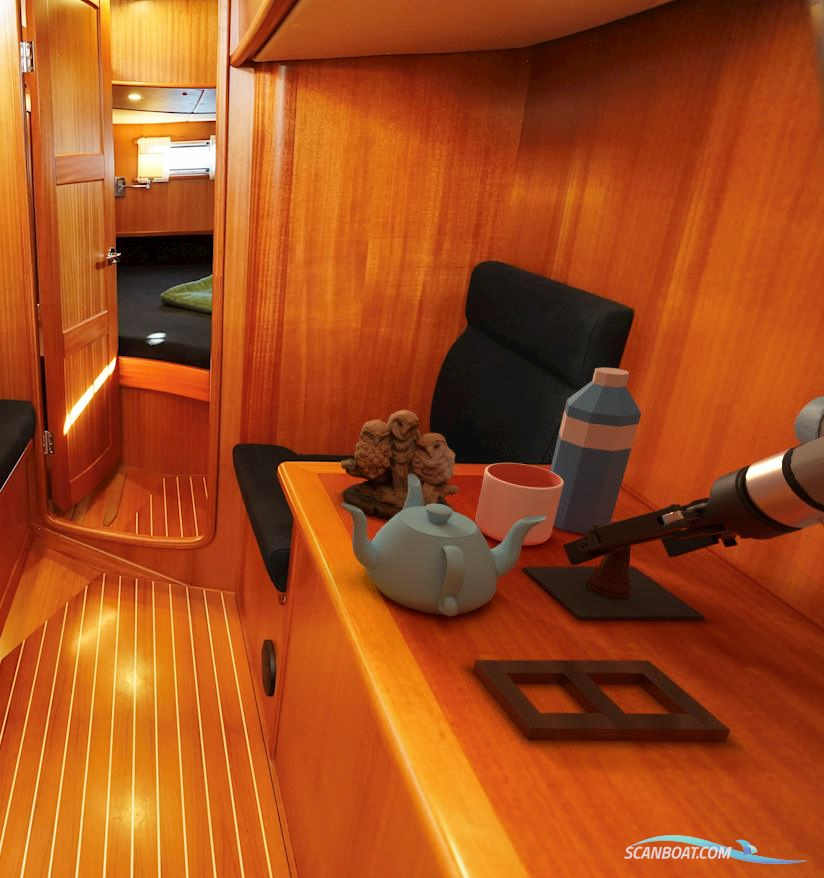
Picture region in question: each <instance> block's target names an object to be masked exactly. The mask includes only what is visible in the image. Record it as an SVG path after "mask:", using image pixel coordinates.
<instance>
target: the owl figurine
mask: <svg viewBox="0 0 824 878" xmlns="http://www.w3.org/2000/svg"><path fill="white" fill-rule="evenodd" d="M419 427H420V419H419V417H418V416H417V414H416V413H415V412H413V411H410V410H407V409H400V410H397V411H396V412H393V413H392V414H390V415H389V417H388V420H387V423H386V422H384V421H382V420H381V419H373V420H370V421H366V422H365V423H364V424H363V425H362V428H361V431H360V434H359V439H358V442H357V443H356V444H355V445H354V447H355V452H354V455H353V456H354V459H353V458H348V459H345V460H340V467H341V468H342V469H343V470H344V472H345V473H346V474H347V475H348V476H350V477H353V478H358V479H364V481H363V482H358V483H355V484H352V485H351V486H348V487H346V488H345V489H344V490H343V492H342V499H343V502H344V503H345V504H349V505H352V506H355V507H357V508H359V509H360V510H362V511H363V513H364V514H368V515H369V516H373V515H374V514H375V513H376V516H377V517H378V518H380V519H385V520H388V521H389V520H390V519H391V518H393V517H394V516H395V515H396V514H397V513H399V512H400V511H402V509H403V507H404V504H405V502H406V499H407V495H408V487H409V486H408V475H409V474H414V475H416V476H417V477H418V479H419V480H420V483H421V488H422V495H423V503H424V506H426V505H428V504H442V505H445V506H448V507H450V508H452V506H451V504H450V503H448V501H447V500H446V497H447V496H453V495H454V494H458V492H459V486H456V485H454V484H451V483H449V481H450V480H451V479H452V477H453V476H454V474H455V466H456V462H455V459H456V456H457V455H456V453H455V452H454V451H453V450H452V449H451V448H449V446H448V443H447V441H446V438H445V436H444V435H443V434H441V433H438V432H437V433H436V432H427V433H423V434H422V433H421V432H420V430H419V429H418V428H419ZM421 434H422V435H421ZM375 509H376V511H377V512H376V511H375ZM452 509H453V508H452Z"/></svg>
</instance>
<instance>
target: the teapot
mask: <svg viewBox="0 0 824 878" xmlns="http://www.w3.org/2000/svg"><path fill="white" fill-rule="evenodd" d="M408 486H409V487H408V495H407V499H406V502H405V504H404V507H403V509H402V511H400V512H399V513H397V514H396V515H395V516H394V517H393V518H391V519H390V520H389V519H388V521H387V522H386V523H385V524H384V525H383V526H382V527H381V528H380V529H379V530H378V531H377V533H376V534H375V535H374V536H373V538H372V540H370V539H369V537H368V519H367V516H366V515H365V514H366V513H363V511H362V510H360V509H359V508H357V507H355V506H352V505H349V504H346V503H345V502H341V503H340V505H341V506H342V508H344V509H345V510H346V511H347V512H348V513H349V514H350V516H351V519H352V525H353V526H352V536H351V547H352V551H353V555H354V557H355V559H356V560H357V561H358V563H359V564H360V565H361V566H363V567H364V568H365V571H366V574H367V576H368V577H369V579H370V580H371V582H372V583H373V585H374V586H375V587H376V589H378V590H379V591H380V593H382V594H383V595H384V596H385V597H387V598H388V599H390V600H391V601H393V602H395V603H397V604H399V605H401V606H404V607H406V608H409V609H412V610H415V611H418V612H423V613H428V614H432V615H440V616H441V615H442V616H443V615H444V616H446V617H454V616H457V615H461V614H466V613H469V612H471V611H474V610H477V609H478V608H481V607H483V606H484V605H486V604H488V602H490V601H491V600H492V598H493V597H495V594H496V592H497V586H498V579H501V578H503V577H504V576H506V575H507V574H509V573H510V572H511V571H512V570H513V569H514V568H515V566H516V565H517V564H518V561H519V559H520V556H521V553H522V549H523V546H524V545H523V542H524V539H525V537H526V535H527V533H528V532H529V531H530V530H531V529H532V528H533V527H534V526H535V525H537V524H539V523H541V522H543V521H544V520H546V517H544V516H531V517H526V518H523V519H521V520H519V521H518V522H516V523H515V524H514V525H513V526H512V528H511V529H510V531H509V532H508V534H507V536H506V537H505V539H504V540H503V542H500V543H499V544H498V545H496V546H495V547H493V548H490V546H489V543H488V542H487V540H486V538H485V536H484V533H483V532H482V531H480V529H479V528H478V526H477V525H476V522H475V521H473V520H472V519H471V518H469V517H468V516H465V515H464V514H463V513H459V512H457V511H455V510H454V509H453V508H450V507H448V506H445V505H442V504H428V505H426V506H424V503H423V495H422V488H421V483H420V480H419V479H418V477H417V476H416V475H414V474H409V475H408Z"/></svg>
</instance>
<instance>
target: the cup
mask: <svg viewBox="0 0 824 878" xmlns="http://www.w3.org/2000/svg"><path fill="white" fill-rule="evenodd" d="M563 484H564V482H563V480H562V478H561V477H560V476H558V475H557V474H555V473H553V472H551V471H550V470H548V469H545V468H542V467H539V466H534V465H531V464H523V463H517V462H516V463H515V462H500V463H492V464H490V465H487V466H486V467H485V469H484V473H483V477H482V484H481V488H480V492H479V498H478V503H477V508H476V514H475V517H474V518H475V520H474V523H475V524H476V525H477V526H478V528H479V529H480V531H481V532H482V534H483V535H485V536H486V537H489V538H491V539H493V540H495V541H498V542H500V543H502V542H503V540H504V539H505V537H506V536H507V534H508V532H509V531H510V529H511V528H512V526H513V525H514V524H515V523H516V522H518V521H519V520H521V519H523V518H526V517H531V516H544V517H546V520H544V521H543V522H541V523H539V524H537V525H535V526H534V527H533V528H532V529H531V530H530V531H529V532H528V533H527V535H526V537H525V539H524V542H523V545H522V546H525V547H526V546H527V547H529V546H537V545H541V544H543V543H546V542H547V541H548V540H549V539H550V538H551V536H552V533H553V529H554V526H553V525H554V520H555V516H556V512H557V508H558V504H559V500H560V496H561V492H562V488H563Z"/></svg>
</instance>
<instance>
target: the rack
mask: <svg viewBox="0 0 824 878" xmlns="http://www.w3.org/2000/svg"><path fill="white" fill-rule="evenodd" d="M473 663H474V664H473V669H472V672H473V673H474V674H475V675H476V677H477V678H478V679H479V680H480V682H481V683H482V684H483V685H484V687H485V689H487V690H488V692H489V693H490V694H491V695H492V697H493V698H494V699H495V701H497V703H498V704H499V705H500V706H501V708H502V709H503V710H504V711H505V713H506V714H507V715H508V717H509V718H510V719H511V720H512V721H513V723H514V724H515V725H516V727H518V729H519V730H520V732H521V733H522V734H523V735H524V737H525V738H526V739H527V740H528V741H529V740H531V741H532V740H535V741H536V740H537V741H629V742H630V741H631V742H632V741H637V742H640V741H641V742H642V741H643V742H647V741H648V742H727V740H728V737H729V734H730V733H731V729H730V727H728V726H727V725H725V724H724V722H722V721H721V720H719V719H718V717H716V716H715V715H714V714H712V713H711V712H710V710H708V709H707V708H706V707H704V706H703V705H702V704H701V703H700V702H698V701H697V700H696V699H695V698H694V697H692V696H691V695H690V694H689V693H687V691H686V690H684V689H683V688H682V687H681V686H679V685H678V684H677V683H676V682H675V681H674V680H673V679H672V678H670V677H669V676H668V675H667V674H666V673H664V672H663V671H662V670H660V669H659V668H658V667H657V666H656V665H655V664H654V663H652V662H651V661H650V660H649V659H648V660H646V659H644V660H641V659H639V660H637V659H636V660H635V659H633V660H632V659H631V660H629V659H627V660H626V659H625V660H624V659H620V660H619V659H618V660H617V659H616V660H615V659H611V660H610V659H598V660H597V659H572V660H570V659H560V660H559V659H552V660H551V659H549V660H548V659H547V660H546V659H499V660H498V659H475V660H474V662H473ZM517 684H561V686H562V687H563V688H564V689H565V690H566V691H567V692H568V693H569V694H570V695H571V696H572V698H574V699H575V700H576V701H577V702H578V703H579V705H580V706H581V707H583V709H584V710H585V711H586V712H540V711H539V710H538V709H537V707H536V706H535V705H534V704H533V703H532V701H530V699H529V698H528V697H527V696H526V694H524V692H523V691H522V690H521V689H520V688H519V686H518V685H517ZM598 685H640V686H641V687H642V688H644V689H645V690H646V691H647V692H648V694H650V695H651V697H653V698H654V699H656V700H657V701H658V702H659V703H660V704H661V705H662V706H663V707H664V708H665V709H666V710H667V711H669V712H670V713H637V712H636V713H632V712H629V713H628V712H627V713H626V712H624V711H623V710H622V709H621V708H620V707H619V705H617V704H616V702H615V701H613V700H612V699H611V698H610V697H609V696H608V695H607V694H606V693H605V692H604V691H603V690H602V689H601V688H600V687H599V686H598Z"/></svg>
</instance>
